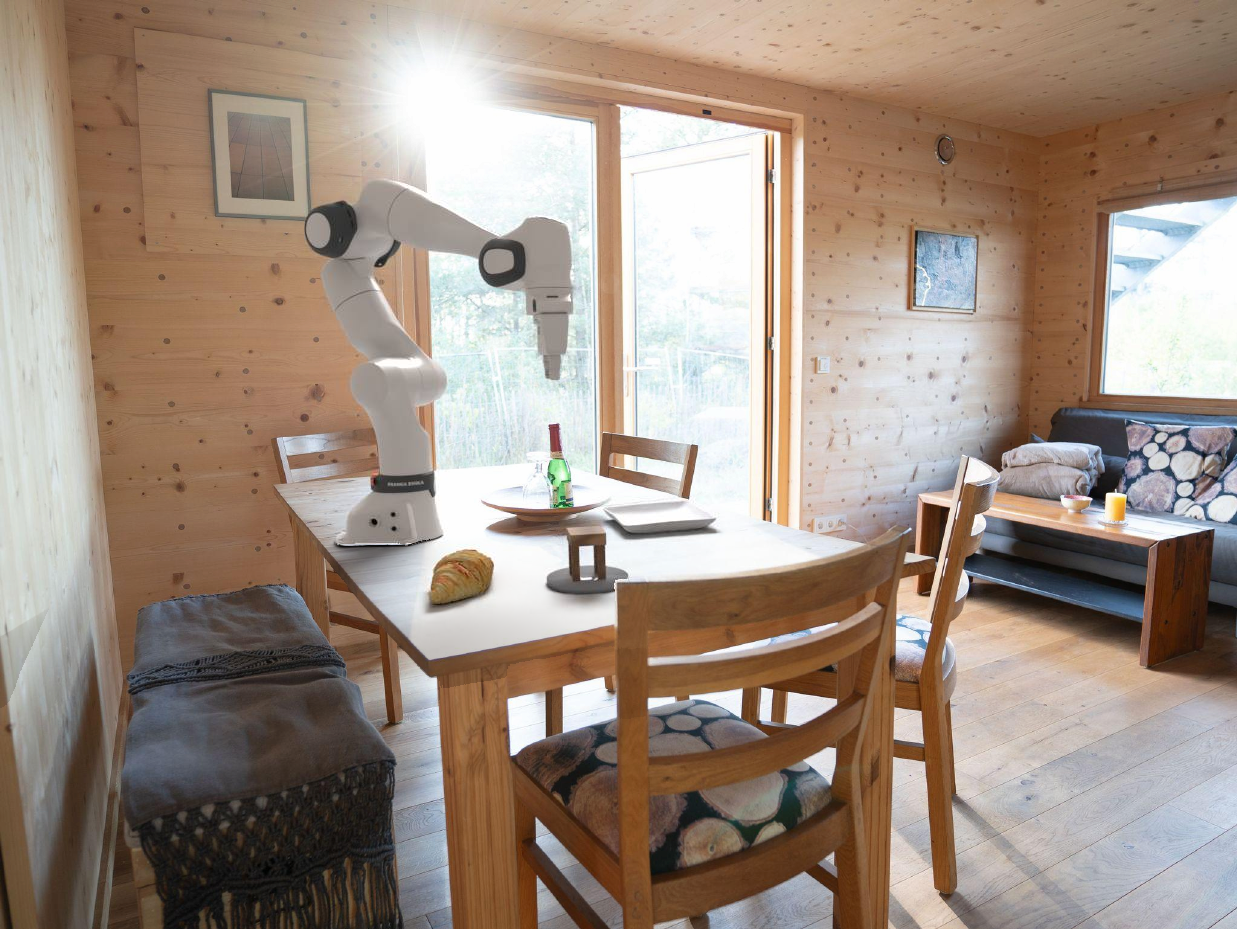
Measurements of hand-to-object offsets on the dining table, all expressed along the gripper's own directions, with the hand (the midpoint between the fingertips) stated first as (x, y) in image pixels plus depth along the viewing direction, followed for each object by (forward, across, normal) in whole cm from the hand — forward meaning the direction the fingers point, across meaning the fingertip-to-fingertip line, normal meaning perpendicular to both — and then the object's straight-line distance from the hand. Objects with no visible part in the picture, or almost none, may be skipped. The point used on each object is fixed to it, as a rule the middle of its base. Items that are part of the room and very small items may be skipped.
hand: (552, 379), depth 153 cm
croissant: (+35, +19, -18) cm, 43 cm away
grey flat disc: (+34, +20, +3) cm, 40 cm away
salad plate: (+35, -22, +25) cm, 48 cm away
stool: (+33, +20, +3) cm, 39 cm away
